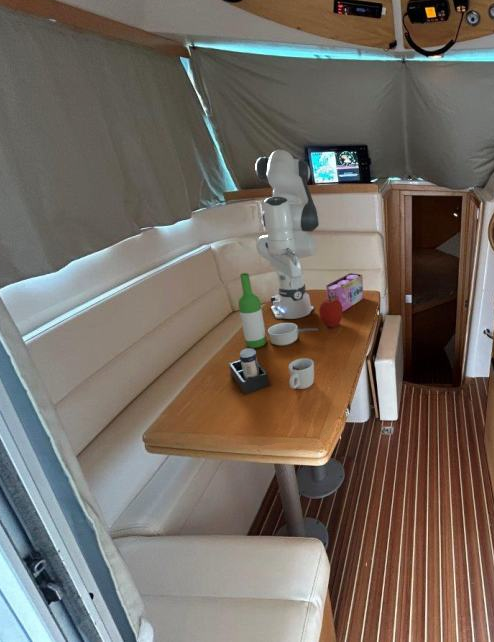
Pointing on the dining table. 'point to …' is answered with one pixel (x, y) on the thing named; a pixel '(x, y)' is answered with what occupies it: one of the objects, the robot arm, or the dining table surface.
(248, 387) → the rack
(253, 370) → the beer can
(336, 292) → the gum box
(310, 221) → the robot arm
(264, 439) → the dining table surface
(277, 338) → the saucepan
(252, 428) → the dining table surface
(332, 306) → the apple
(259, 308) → the bottle
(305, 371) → the cup
